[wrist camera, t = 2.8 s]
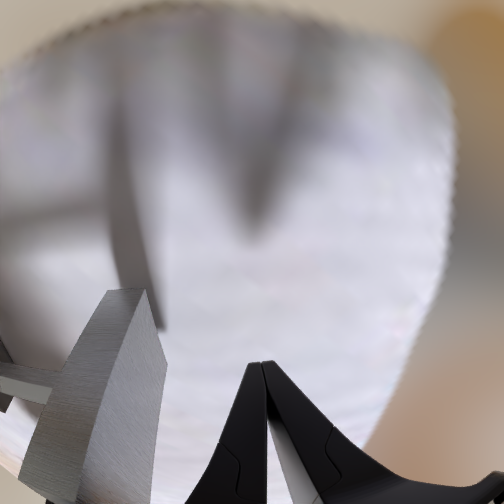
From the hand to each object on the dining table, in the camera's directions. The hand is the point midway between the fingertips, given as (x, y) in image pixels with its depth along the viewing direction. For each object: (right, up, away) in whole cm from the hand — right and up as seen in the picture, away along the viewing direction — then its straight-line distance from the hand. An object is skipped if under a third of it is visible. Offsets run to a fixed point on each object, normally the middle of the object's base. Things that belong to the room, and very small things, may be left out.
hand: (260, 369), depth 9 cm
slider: (-19, 0, +1) cm, 19 cm away
